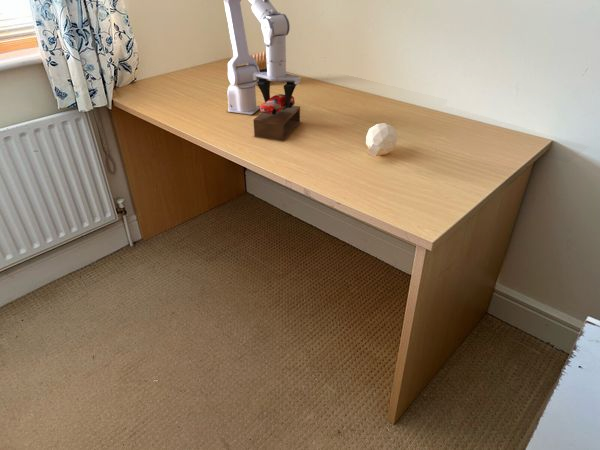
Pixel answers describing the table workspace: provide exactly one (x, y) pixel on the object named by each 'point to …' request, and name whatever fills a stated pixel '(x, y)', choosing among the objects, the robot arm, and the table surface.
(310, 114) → the table surface
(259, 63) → the ammunition clip
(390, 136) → the white faceted rounded lump
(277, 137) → the shelf
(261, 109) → the race car
